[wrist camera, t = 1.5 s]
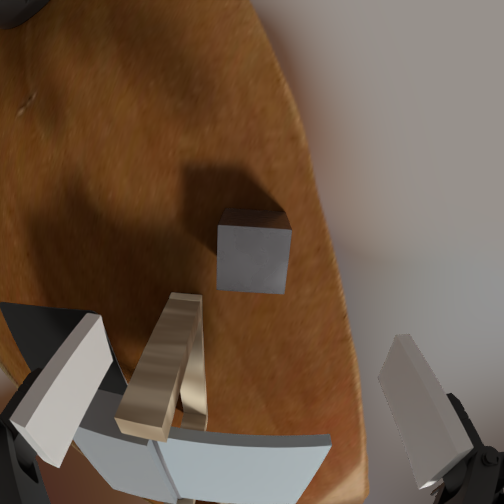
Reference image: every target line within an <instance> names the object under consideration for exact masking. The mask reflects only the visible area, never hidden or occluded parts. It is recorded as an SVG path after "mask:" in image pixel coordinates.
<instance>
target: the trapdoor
mask: <svg viewBox="0 0 504 504" xmlns="http://www.w3.org/2000/svg"><path fill="white" fill-rule="evenodd" d="M122 398H123V395H119V394H115V393H111V392H107V391H103V390H99V389H97V391H96V393H95V395H94V397H93V399H92V401H91V403H90V404H89V406H88V408H87V410H86V412H85V414H84V416H83V418H82V420H81V422H80V424H79V426H78V428H77V431H76V433H75V435H74V437H73V440H74V441H75V443H76V444H77V445H78V447H79V448H80V449H81V451H82V452H83V453H84V455H85V456H86V457H87V459H88V460H89V461H90V462H91V464H92V465H93V466H94V467H95V468H96V470H97V471H98V472H99V473H100V474H101V475H102V477H103V478H104V479H105V480H106V481H107V482H108V484H109V485H110V486H111V487H112V488H113V489H116V490H119V491H122V492H126V493H129V494H133V495H137V496H140V497H144V498H148V499H153V500H157V501H162V502H167V503H172V504H177V499H178V500H181V499H184V498H188V499H195V500H203V501H211V502H221V503H234V504H295V503H296V502H297V500H298V499H299V498H300V496H301V495H302V493H303V492H304V490H305V489H306V487H307V486H308V484H309V483H310V481H311V479H312V478H313V476H314V475H315V473H316V472H317V470H318V468H319V467H320V465H321V463H322V462H323V460H324V458H325V457H326V455H327V453H328V451H329V450H330V448H331V446H332V443H331V438H330V434H324V435H302V436H261V435H240V434H226V433H215V432H206V431H197V430H190V429H183V428H176V427H170V431H169V435H168V439H167V443H166V442H160V441H155V440H150V439H146V438H141V437H137V436H132V435H128V434H124V433H121V431H120V429H119V426H118V424H117V422H116V420H115V418H114V416H115V414H116V412H117V409H118V407H119V405H120V402H121V400H122Z"/></svg>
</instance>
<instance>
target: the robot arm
mask: <svg viewBox="0 0 504 504" xmlns="http://www.w3.org/2000/svg"><path fill="white" fill-rule="evenodd" d="M49 1H50V0H0V29H11V28H14V27H16V26H18V25H20V24H22V23H23V22H25V21H26V20H28V19H29V18H31V17H32V16H33V15H34V14H36V13H37V12H38V11H39V10H40V9H41V8H42V7H43V6H44V5H46V4H47V3H48V2H49ZM112 361H113V359H112V356H111V352H110V349H109V345H108V341H107V337H106V334H105V330H104V326H103V321H102V317H101V315H97V314H91V313H87V314H86V315H85V316H84V317H83V319H82V320H81V321H80V322H79V324H78V325H77V326H76V327H75V328H74V330H73V331H72V332H71V334H70V335H69V336H68V337H67V339H66V340H65V341H64V342H63V344H62V345H61V346H60V348H59V349H58V350H57V352H56V353H55V354H54V356H53V357H52V358H51V360H50V361H49V362H48V364H47V365H46V366H45V368H44V369H41V368H39V367H38V368H37V369H35V370H34V371H32V372H31V373H29V374H28V376H27V377H26V379H25V380H24V381H23V384H21V385H20V387H19V388H18V391H16V392H15V394H14V395H13V397H12V399H11V400H10V401H9V403H8V404H7V406H6V407H5V409H4V410H3V412H2V413H1V414H0V504H51V503H50V501H49V498H48V495H47V492H46V489H45V486H44V483H43V480H42V477H41V473H40V470H39V466H38V463H37V461H36V459H35V457H36V455H37V454H38V455H39V456H40V457H41V458H42V459H43V460H44V461H46V462H48V463H49V464H51V465H53V466H56V467H58V468H59V467H60V465H61V463H62V461H63V458H64V456H65V454H66V452H67V449H68V447H69V445H70V443H71V441H72V439H73V437H74V435H75V433H76V431H77V428H78V426H79V424H80V422H81V420H82V418H83V416H84V414H85V412H86V410H87V408H88V406H89V404H90V403H91V401H92V399H93V397H94V395H95V393H96V391H97V389H98V387H99V385H100V383H101V382H102V380H103V378H104V376H105V374H106V372H107V370H108V369H109V367H110V365H111V363H112ZM378 380H379V382H380V384H381V387H382V389H383V392H384V394H385V397H386V399H387V402H388V405H389V407H390V409H391V412H392V415H393V417H394V420H395V423H396V425H397V428H398V431H399V434H400V436H401V439H402V442H403V444H404V447H405V450H406V453H407V456H408V459H409V462H410V465H411V468H412V471H413V474H414V477H415V480H416V483H417V486H418V489H422V488H424V487H428V486H430V485H433V484H435V483H436V482H437V481H438V480H440V479H441V478H443V481H444V482H443V483H442V484H441V485H440V486H438V487H437V488H436V489H435V490H433V491H432V493H431V495H434V494H435V493H436V492H438V493H437V495H436V496H435V497H436V498H435V501H434V503H433V504H504V492H503V488H504V452H498V451H497V450H496V449H495V448H493V447H491V446H484V444H483V443H482V442H481V439H480V437H479V435H478V433H477V431H476V429H475V427H474V426H473V424H472V422H471V420H470V419H469V418H468V415H467V413H466V412H465V411H464V407H463V406H462V404H461V402H460V400H459V399H457V398H456V397H455V396H454V395H453V394H452V393H449V394H446V393H445V392H444V390H443V389H442V386H441V385H440V383H439V381H438V380H437V378H436V376H435V374H434V373H433V371H432V369H431V368H430V366H429V364H428V363H427V361H426V360H425V358H424V356H423V355H422V353H421V351H420V350H419V348H418V347H417V345H416V343H415V342H414V340H413V339H412V337H411V336H410V334H402V335H396V336H395V338H394V341H393V344H392V346H391V348H390V351H389V353H388V356H387V358H386V361H385V362H384V365H383V367H382V369H381V371H380V374H379V376H378Z"/></svg>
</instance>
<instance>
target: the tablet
mask: <svg viewBox="0 0 504 504" xmlns="http://www.w3.org/2000/svg"><path fill="white" fill-rule="evenodd" d="M0 308H1V311H2V313H3V316H4V318H5V320H6V323H7V325H8V327H9V329H10V331H11V333H12V336H13V338H14V340H15V342H16V344H17V346H18V348H19V350H20V352H21V354H22V356H23V357H24V359H25V361H26V363H27V365H28V367H29V368H30V370H31V372H32V371H34V370H35V369H37V368H38V367H39V368H41V369H44V368H45V366H46V365H47V364H48V362H49V361H50V360H51V358H52V357H53V356H54V354H55V353H56V352H57V350H58V349H59V348H60V346H61V345H62V344H63V342H64V341H65V340H66V339H67V337H68V336H69V335H70V334H71V332H72V331H73V330H74V328H75V327H76V326H77V325H78V324H79V322H80V321H81V320H82V319H83V317H84V316H85V315H86V314H87V313H91V314H97V313H96V312H94V311H91V310H76V309H63V308H52V307H41V306H31V305H22V304H13V303H5V302H1V303H0ZM97 315H98V314H97ZM103 326H104V325H103ZM104 330H105V328H104ZM105 334H106V337H107V341H108V345H109V349H110V352H111V356H112V359H113V361H112V363H111V365H110V367H109V369H108V370H107V372H106V374H105V376H104V378H103V380H102V382H101V383H100V385H99V387H98V389H99V390H103V391H107V392H111V393H115V394H119V395H124V393H125V391H126V389H127V386H128V384H127V382H126V380H125V378H124V375H123V373H122V371H121V368H120V366H119V364H118V361H117V359H116V356H115V354H114V351H113V349H112V346H111V344H110V341H109V338H108V336H107V333H106V330H105Z"/></svg>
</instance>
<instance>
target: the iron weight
mask: <svg viewBox="0 0 504 504" xmlns="http://www.w3.org/2000/svg"><path fill="white" fill-rule="evenodd" d="M291 233H292V229H291V226H290V223H289V220H288V218H287V215H286V212H281V211H267V210H252V209H236V208H225V210H224V212H223V215H222V217H221V219H220V221H219V224H218V241H217V290H226V291H240V292H255V293H272V294H284V291H285V283H286V275H287V267H288V259H289V251H290V242H291Z"/></svg>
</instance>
